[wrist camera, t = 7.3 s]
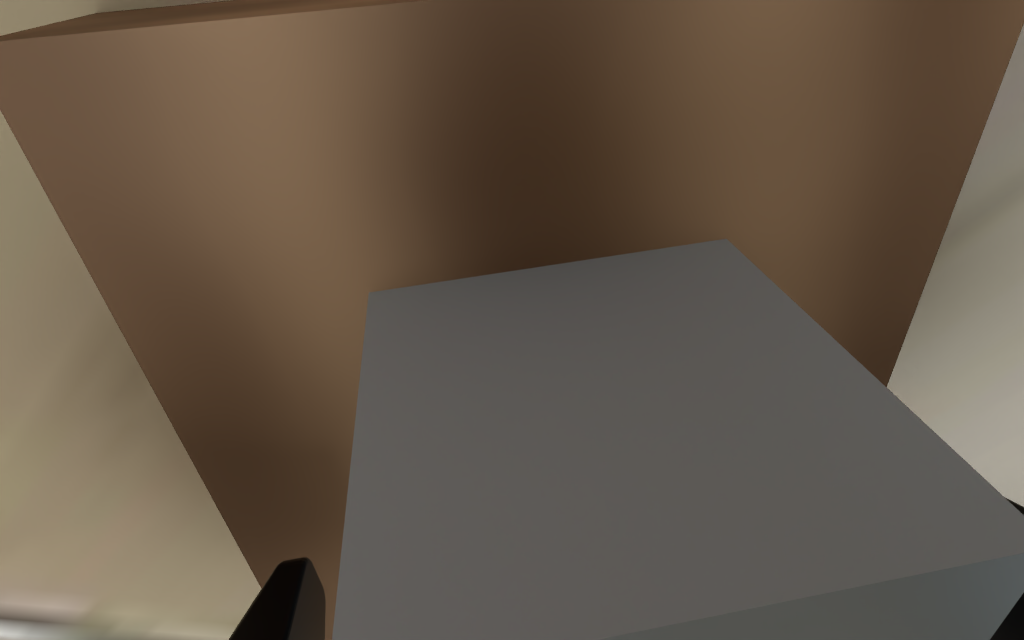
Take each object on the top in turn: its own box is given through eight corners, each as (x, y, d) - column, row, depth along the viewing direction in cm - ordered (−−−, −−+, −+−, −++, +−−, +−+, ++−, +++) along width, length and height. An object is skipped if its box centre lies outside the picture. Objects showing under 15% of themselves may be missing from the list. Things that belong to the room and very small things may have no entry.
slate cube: (726, 238, 10) (1055, 546, 5) (694, 478, 13) (870, 806, 8) (369, 292, 9) (325, 696, 4) (430, 527, 13) (446, 906, 8)
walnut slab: (864, -60, 11) (1054, -60, 8) (750, 448, 19) (822, 555, 16) (110, 10, 10) (-36, 44, 7) (317, 522, 18) (298, 654, 15)
